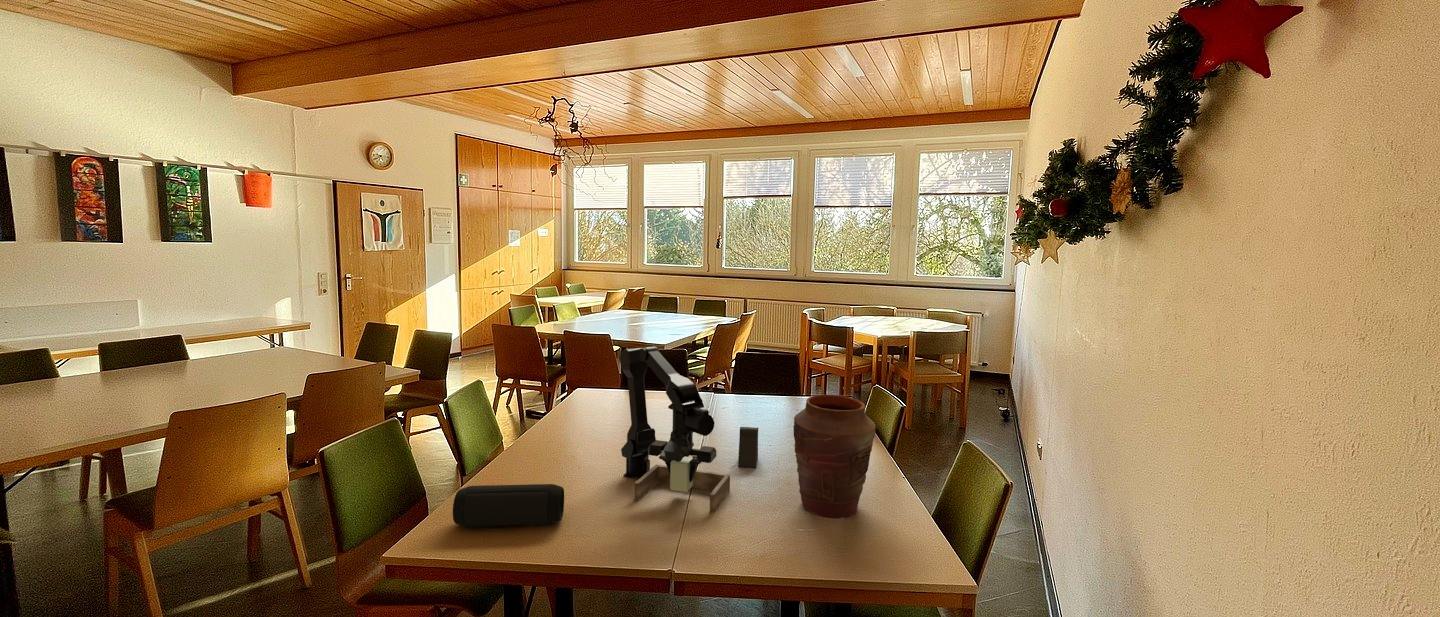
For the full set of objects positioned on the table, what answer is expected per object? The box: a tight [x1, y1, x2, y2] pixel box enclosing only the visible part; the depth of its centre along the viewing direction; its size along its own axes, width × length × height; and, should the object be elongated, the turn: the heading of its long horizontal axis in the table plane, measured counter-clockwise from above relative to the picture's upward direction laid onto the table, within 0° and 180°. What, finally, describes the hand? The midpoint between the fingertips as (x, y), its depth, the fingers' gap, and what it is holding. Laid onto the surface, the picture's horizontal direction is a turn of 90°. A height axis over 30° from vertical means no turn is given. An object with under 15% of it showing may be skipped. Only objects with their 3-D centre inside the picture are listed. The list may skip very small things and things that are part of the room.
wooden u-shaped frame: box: [633, 463, 731, 514], centre depth 170 cm, size 23×15×5 cm, turn 73°
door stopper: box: [737, 426, 759, 469], centre depth 197 cm, size 9×6×12 cm, turn 172°
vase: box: [793, 394, 877, 519], centre depth 163 cm, size 23×22×30 cm
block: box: [669, 457, 693, 493], centre depth 168 cm, size 5×5×8 cm
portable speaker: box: [452, 483, 565, 528], centre depth 150 cm, size 26×10×10 cm, turn 96°
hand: (681, 480), depth 168 cm, fingers closed on block, 5 cm apart
